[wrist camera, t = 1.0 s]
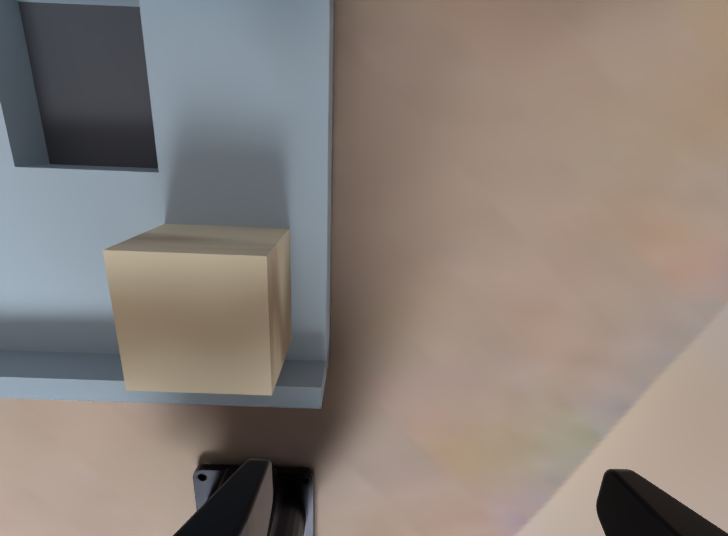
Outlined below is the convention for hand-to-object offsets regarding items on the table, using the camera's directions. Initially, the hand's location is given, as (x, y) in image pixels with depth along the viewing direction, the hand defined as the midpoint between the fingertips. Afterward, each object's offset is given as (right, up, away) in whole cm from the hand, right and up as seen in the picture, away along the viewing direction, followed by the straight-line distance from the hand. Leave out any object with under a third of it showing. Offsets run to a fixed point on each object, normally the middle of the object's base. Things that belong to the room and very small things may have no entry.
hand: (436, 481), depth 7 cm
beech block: (-7, +3, +9) cm, 12 cm away
